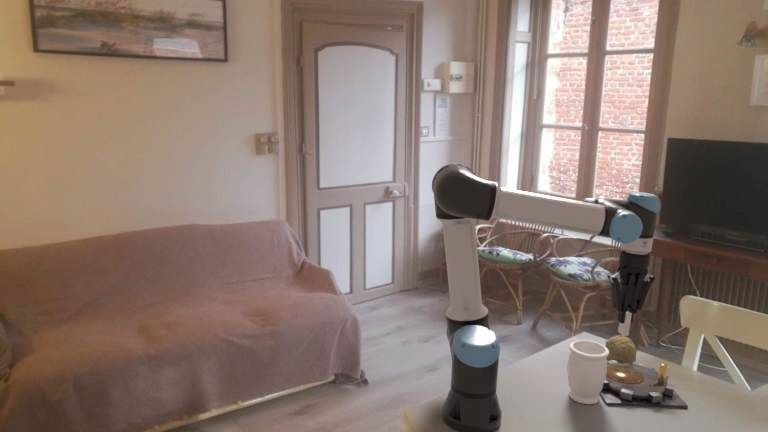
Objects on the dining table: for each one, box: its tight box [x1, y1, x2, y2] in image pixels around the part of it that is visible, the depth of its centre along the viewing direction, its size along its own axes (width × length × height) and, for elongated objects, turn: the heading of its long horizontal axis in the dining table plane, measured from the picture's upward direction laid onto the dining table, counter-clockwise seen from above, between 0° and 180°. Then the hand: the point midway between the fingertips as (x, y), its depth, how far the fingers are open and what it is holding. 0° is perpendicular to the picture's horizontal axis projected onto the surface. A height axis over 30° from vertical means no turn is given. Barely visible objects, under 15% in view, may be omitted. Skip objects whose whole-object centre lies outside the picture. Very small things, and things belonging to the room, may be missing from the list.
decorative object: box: [604, 334, 637, 364], centre depth 190 cm, size 9×10×10 cm
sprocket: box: [602, 360, 675, 403], centre depth 172 cm, size 22×22×8 cm
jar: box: [566, 339, 609, 405], centre depth 165 cm, size 11×10×15 cm
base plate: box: [599, 367, 689, 409], centre depth 173 cm, size 22×22×1 cm
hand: (623, 333), depth 162 cm, fingers closed
